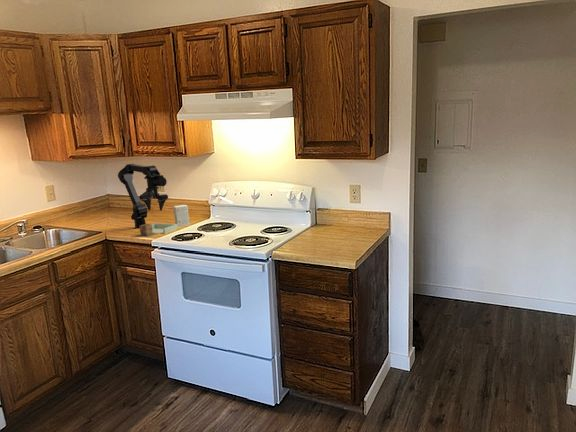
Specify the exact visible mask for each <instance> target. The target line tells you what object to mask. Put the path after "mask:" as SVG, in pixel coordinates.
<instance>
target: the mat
mask: <svg viewBox="0 0 576 432" xmlns="http://www.w3.org/2000/svg"><path fill="white" fill-rule="evenodd" d="M158 234H159V233H153V234H151V235H149V236H141V233H139V234H138V235H136V237H141V238H150V237H153V236H155V235H158Z"/></svg>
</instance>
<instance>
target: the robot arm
mask: <svg viewBox="0 0 576 432" xmlns="http://www.w3.org/2000/svg"><path fill="white" fill-rule="evenodd" d="M135 172H137V173H142V174H143V175H144V177H143V179H144V180H146V184H147V188H145V191H144V192H143V193H142V194H140V195H138V193H137V191H136V188H135V185H134V183H133V179H134V176H133V175H134V173H135ZM117 178H118V179H119V182H120V183H122V184H123V185H124V186H125V189H126V191H127V194H128V196H129V199H130V201H131V203H132V214H131V215H130V218H131V220H133V221H134V227H133V229H136V230H137V229H138V230H140V226H141V225H144V224H147V223H146V222H147V221H146V219H145V218H148V212H149V211H151V206H152V199H157V203H158V207H159V211H163V207H164V206H165V202H166V201H167V199H169V195H168V194H165V193H163V194H160V193H159V191H158V190H159V188H160V187H165V186H166V185H167V182H168V181H167V179H166V178H165V177H164V175H163V174H161V173H160V172H159V170H158V168H157V167H156V166H155V165H147V166H146V165H142V164H141V165H139V164H135V163H128V164H126V165H125V166H124V167H122V168H121V169H120V170H119V172H118V173H117ZM142 202H143V203H142Z"/></svg>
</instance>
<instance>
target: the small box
mask: <svg viewBox="0 0 576 432" xmlns="http://www.w3.org/2000/svg"><path fill="white" fill-rule="evenodd" d="M173 213H174V221H175V222H174V224H178V228H179V227H185V226H190V224H191V223H190V215H189V207H188V205H187V204H180V205H174V206H173Z"/></svg>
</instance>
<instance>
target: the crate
mask: <svg viewBox="0 0 576 432" xmlns="http://www.w3.org/2000/svg"><path fill="white" fill-rule="evenodd" d="M151 224H152V231H153V233H158V234H167V233H169V232H174V231H175V230H178V229H179V227H178V224H176V223H159V222H155V223H151Z"/></svg>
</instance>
